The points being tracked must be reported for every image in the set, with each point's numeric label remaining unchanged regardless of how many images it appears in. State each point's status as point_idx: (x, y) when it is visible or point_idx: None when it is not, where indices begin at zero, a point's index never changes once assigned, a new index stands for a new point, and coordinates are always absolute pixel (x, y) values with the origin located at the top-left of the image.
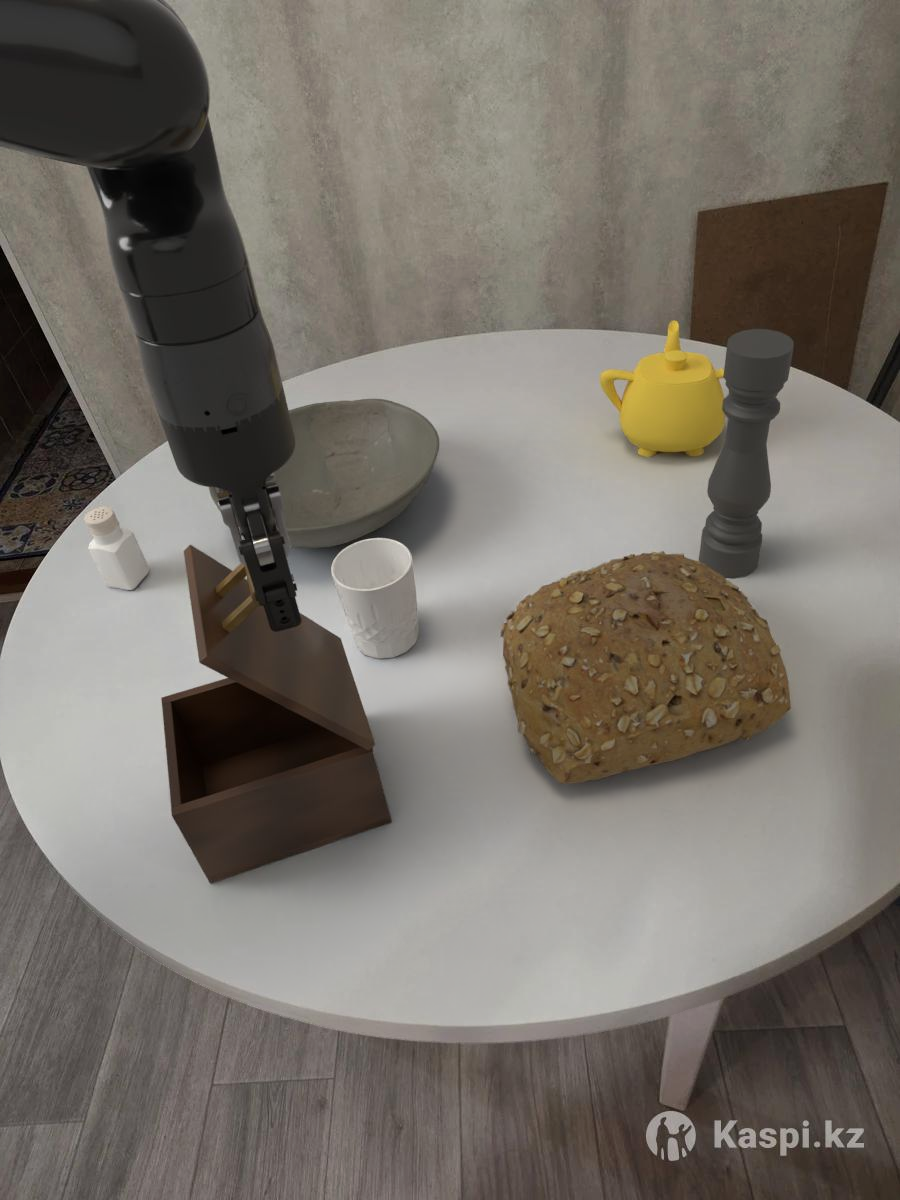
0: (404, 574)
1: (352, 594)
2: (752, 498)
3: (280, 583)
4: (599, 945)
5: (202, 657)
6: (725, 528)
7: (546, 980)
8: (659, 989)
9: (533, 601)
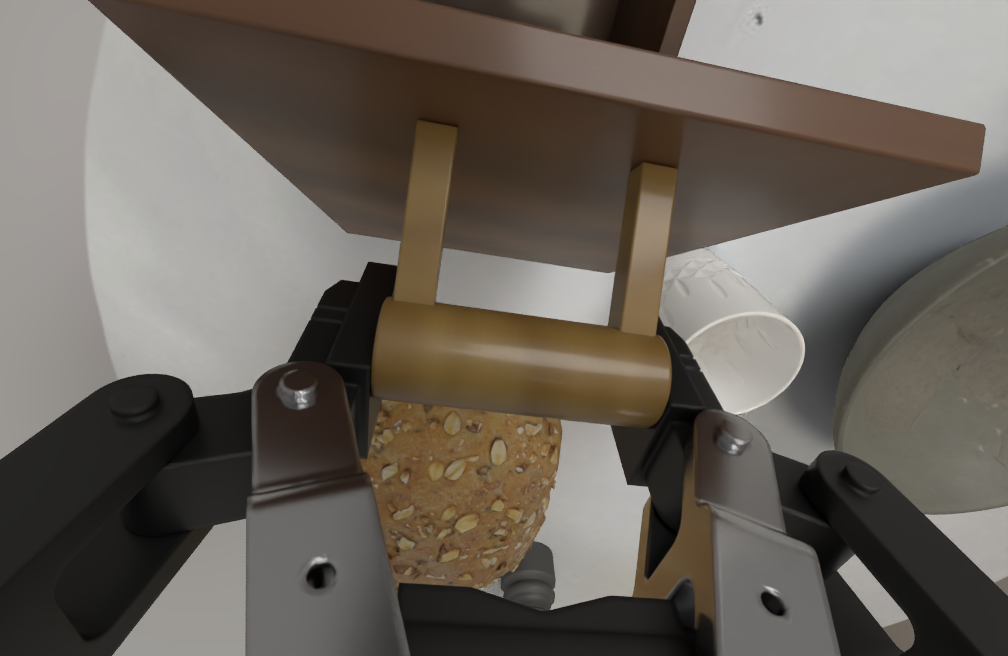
0: None
1: (704, 317)
2: None
3: (137, 525)
4: (155, 285)
5: None
6: (521, 598)
7: (124, 223)
8: (99, 306)
9: (522, 473)
